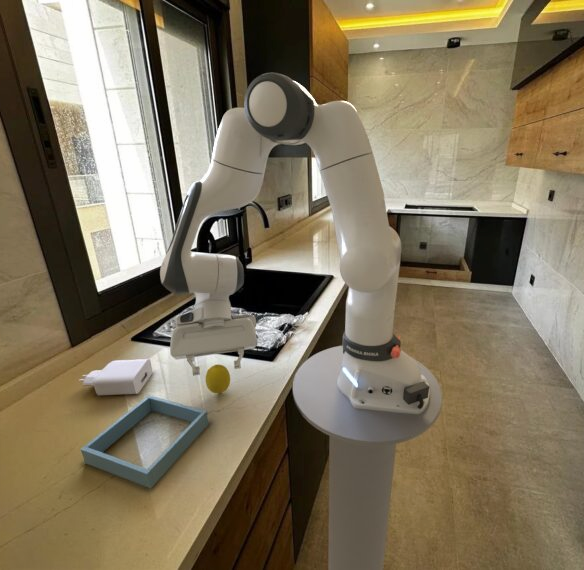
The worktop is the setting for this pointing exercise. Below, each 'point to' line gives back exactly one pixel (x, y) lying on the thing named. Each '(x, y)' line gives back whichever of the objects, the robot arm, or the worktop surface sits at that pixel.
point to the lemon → (217, 379)
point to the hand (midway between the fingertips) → (217, 371)
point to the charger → (120, 377)
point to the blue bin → (127, 421)
